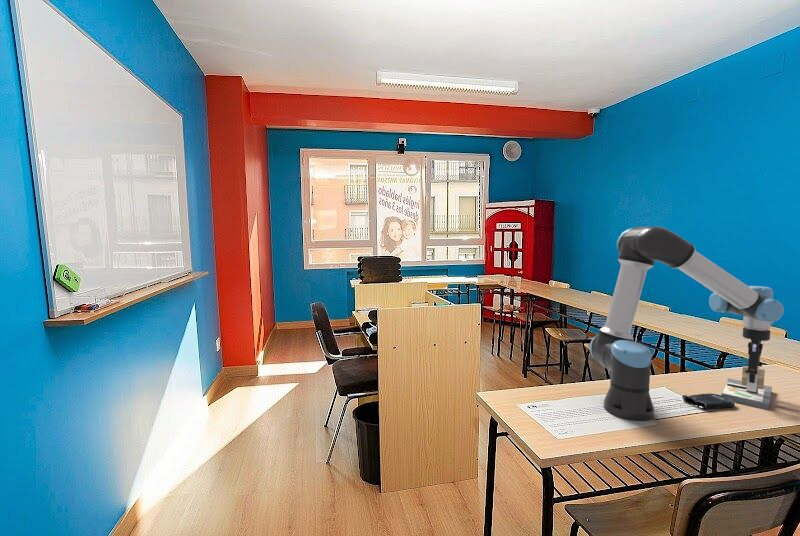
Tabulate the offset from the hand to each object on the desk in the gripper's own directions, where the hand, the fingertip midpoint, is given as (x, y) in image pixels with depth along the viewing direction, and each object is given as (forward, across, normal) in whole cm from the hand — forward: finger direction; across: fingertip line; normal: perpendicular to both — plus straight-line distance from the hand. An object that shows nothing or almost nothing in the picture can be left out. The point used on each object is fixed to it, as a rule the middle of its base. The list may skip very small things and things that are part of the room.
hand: (752, 386), depth 146 cm
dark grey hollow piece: (+5, -18, +10) cm, 21 cm away
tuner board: (+4, +2, +2) cm, 5 cm away
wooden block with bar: (+2, 0, +2) cm, 3 cm away
